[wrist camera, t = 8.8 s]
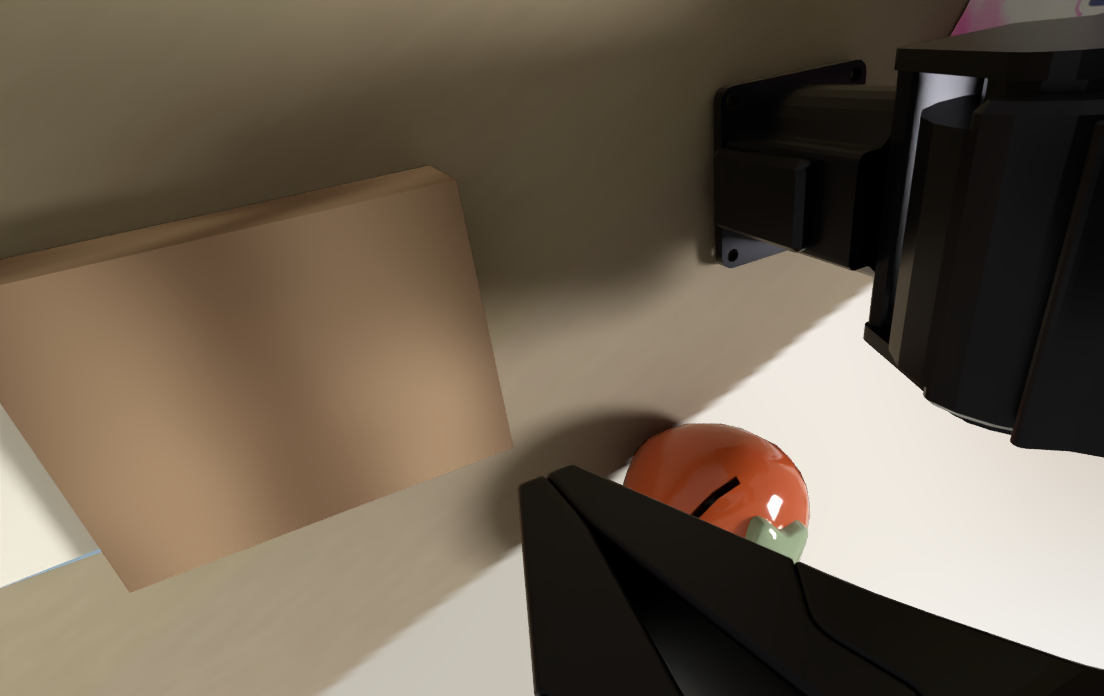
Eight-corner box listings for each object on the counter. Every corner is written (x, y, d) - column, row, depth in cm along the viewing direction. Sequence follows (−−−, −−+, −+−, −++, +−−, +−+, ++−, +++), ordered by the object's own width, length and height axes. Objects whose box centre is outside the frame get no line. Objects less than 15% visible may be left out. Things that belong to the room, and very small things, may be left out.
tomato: (667, 362, 24) (817, 470, 18) (758, 434, 28) (908, 544, 22) (556, 502, 25) (662, 658, 18) (661, 554, 29) (779, 697, 22)
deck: (429, 165, 18) (456, 180, 15) (484, 404, 22) (513, 447, 19) (-12, 262, 14) (-70, 300, 12) (148, 522, 18) (130, 592, 16)
